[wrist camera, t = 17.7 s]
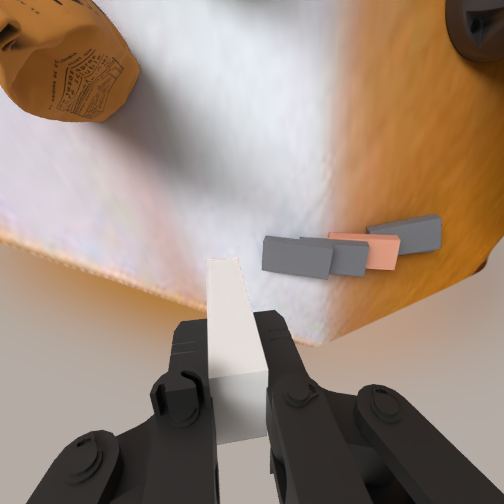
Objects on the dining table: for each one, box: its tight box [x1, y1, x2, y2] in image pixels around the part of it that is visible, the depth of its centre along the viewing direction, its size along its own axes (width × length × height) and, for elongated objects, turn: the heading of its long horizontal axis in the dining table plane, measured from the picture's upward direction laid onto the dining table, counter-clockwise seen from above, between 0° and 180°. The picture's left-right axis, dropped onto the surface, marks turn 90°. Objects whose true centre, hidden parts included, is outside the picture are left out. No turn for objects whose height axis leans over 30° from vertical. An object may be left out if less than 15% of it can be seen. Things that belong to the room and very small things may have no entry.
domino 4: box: [366, 214, 442, 256], centre depth 42 cm, size 2×5×10 cm
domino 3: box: [329, 233, 401, 270], centre depth 42 cm, size 2×5×10 cm
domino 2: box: [300, 237, 369, 277], centre depth 41 cm, size 2×5×10 cm
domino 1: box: [262, 236, 333, 280], centre depth 40 cm, size 2×5×10 cm
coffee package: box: [0, 0, 141, 122], centre depth 19 cm, size 10×12×22 cm
